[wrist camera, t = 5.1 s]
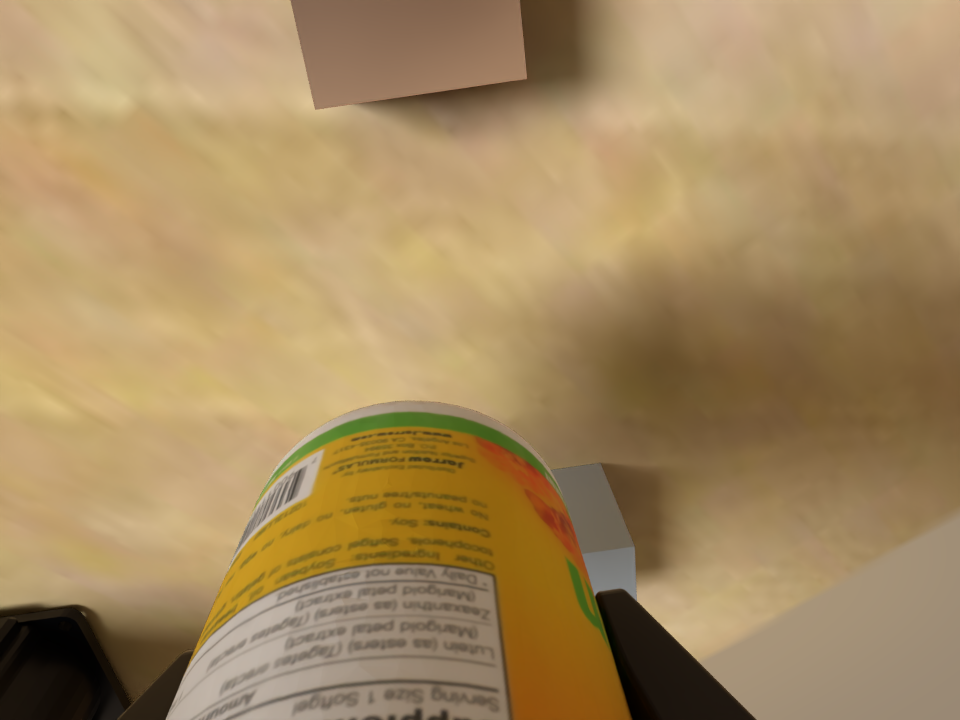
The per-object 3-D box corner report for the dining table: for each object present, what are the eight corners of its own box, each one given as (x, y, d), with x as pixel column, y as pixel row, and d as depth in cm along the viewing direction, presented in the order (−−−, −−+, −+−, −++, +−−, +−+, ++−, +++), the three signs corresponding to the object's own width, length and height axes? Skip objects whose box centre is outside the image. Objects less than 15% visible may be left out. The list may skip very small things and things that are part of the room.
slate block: (605, 557, 25) (638, 653, 21) (491, 573, 25) (501, 673, 21) (599, 461, 23) (634, 546, 19) (476, 479, 23) (484, 568, 19)
